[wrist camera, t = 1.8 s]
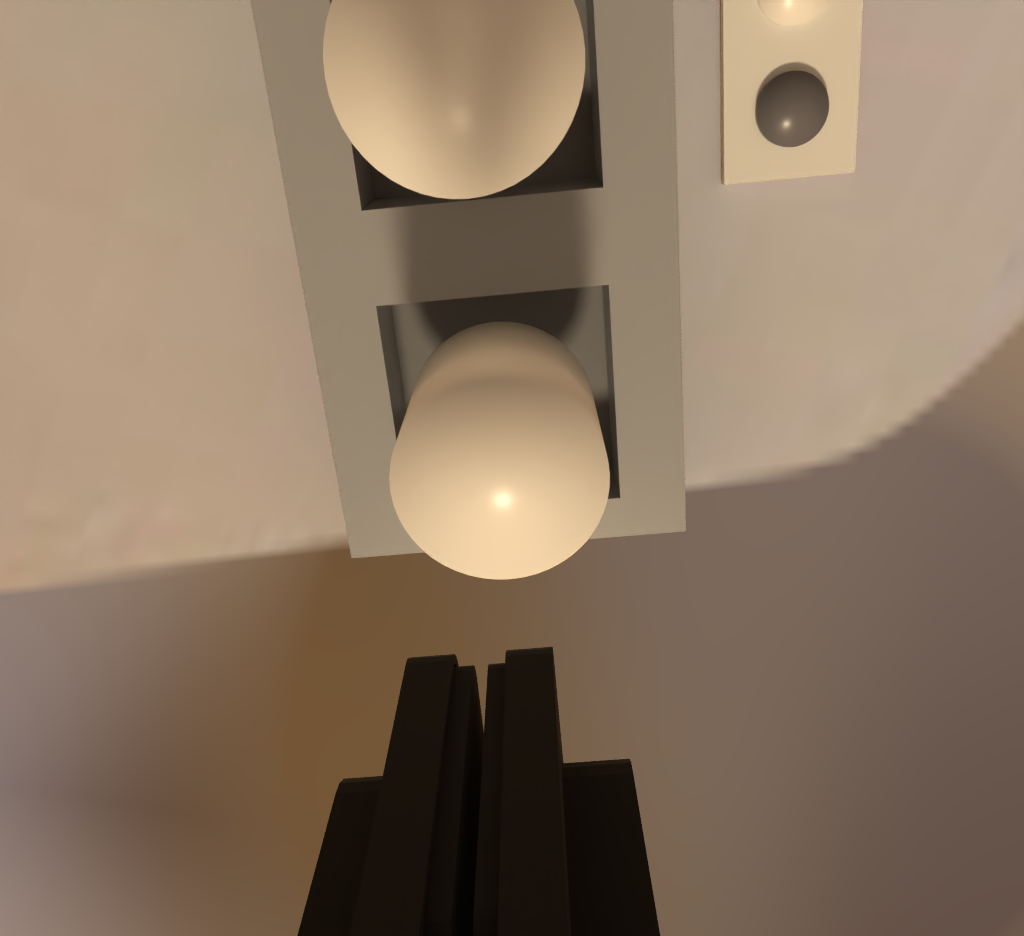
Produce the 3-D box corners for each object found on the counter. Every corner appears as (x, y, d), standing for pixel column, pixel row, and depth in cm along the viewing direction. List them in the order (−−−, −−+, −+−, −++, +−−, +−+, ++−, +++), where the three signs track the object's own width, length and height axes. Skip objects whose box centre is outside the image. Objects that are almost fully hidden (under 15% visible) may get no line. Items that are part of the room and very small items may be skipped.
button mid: (348, -40, 17) (301, -72, 14) (563, -63, 17) (576, -103, 13) (379, 184, 19) (346, 210, 15) (578, 165, 19) (593, 187, 15)
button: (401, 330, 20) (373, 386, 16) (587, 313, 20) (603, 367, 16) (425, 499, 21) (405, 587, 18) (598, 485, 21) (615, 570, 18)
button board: (196, -529, 17) (133, -646, 14) (631, -586, 17) (655, -719, 14) (370, 505, 25) (351, 557, 22) (667, 481, 25) (686, 531, 22)
